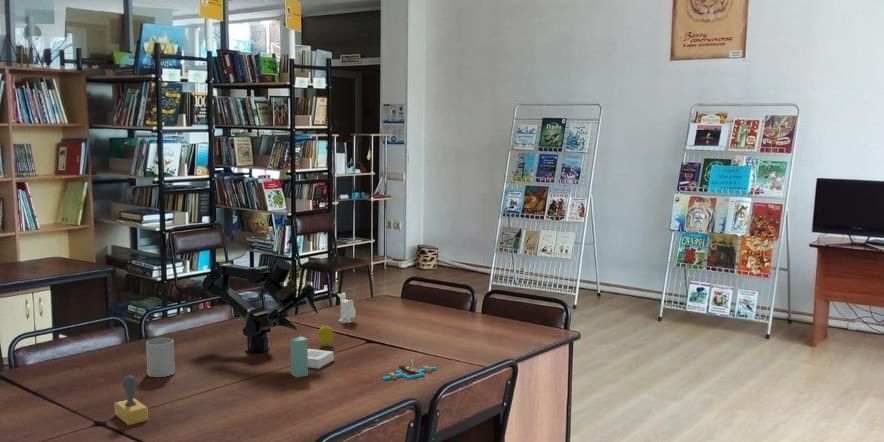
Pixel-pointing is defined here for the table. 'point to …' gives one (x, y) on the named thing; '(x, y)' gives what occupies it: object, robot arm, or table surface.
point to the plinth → (319, 358)
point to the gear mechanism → (408, 372)
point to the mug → (160, 357)
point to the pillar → (299, 357)
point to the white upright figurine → (346, 309)
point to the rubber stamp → (130, 404)
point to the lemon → (325, 335)
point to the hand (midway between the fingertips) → (306, 321)
